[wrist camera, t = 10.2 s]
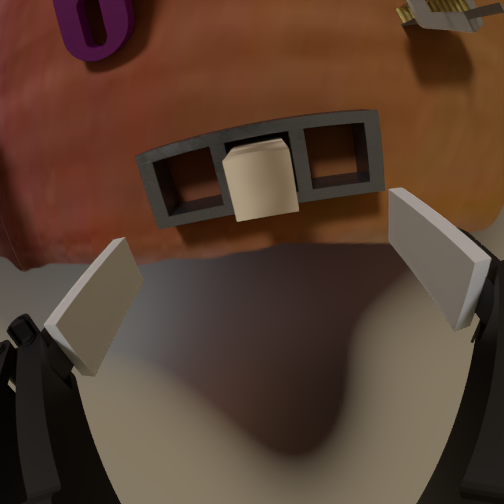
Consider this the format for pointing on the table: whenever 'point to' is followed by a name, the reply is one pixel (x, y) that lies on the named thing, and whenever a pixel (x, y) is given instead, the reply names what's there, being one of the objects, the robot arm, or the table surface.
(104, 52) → the mounting bracket
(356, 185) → the dark grey long frame
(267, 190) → the peg
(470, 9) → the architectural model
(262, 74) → the table surface
